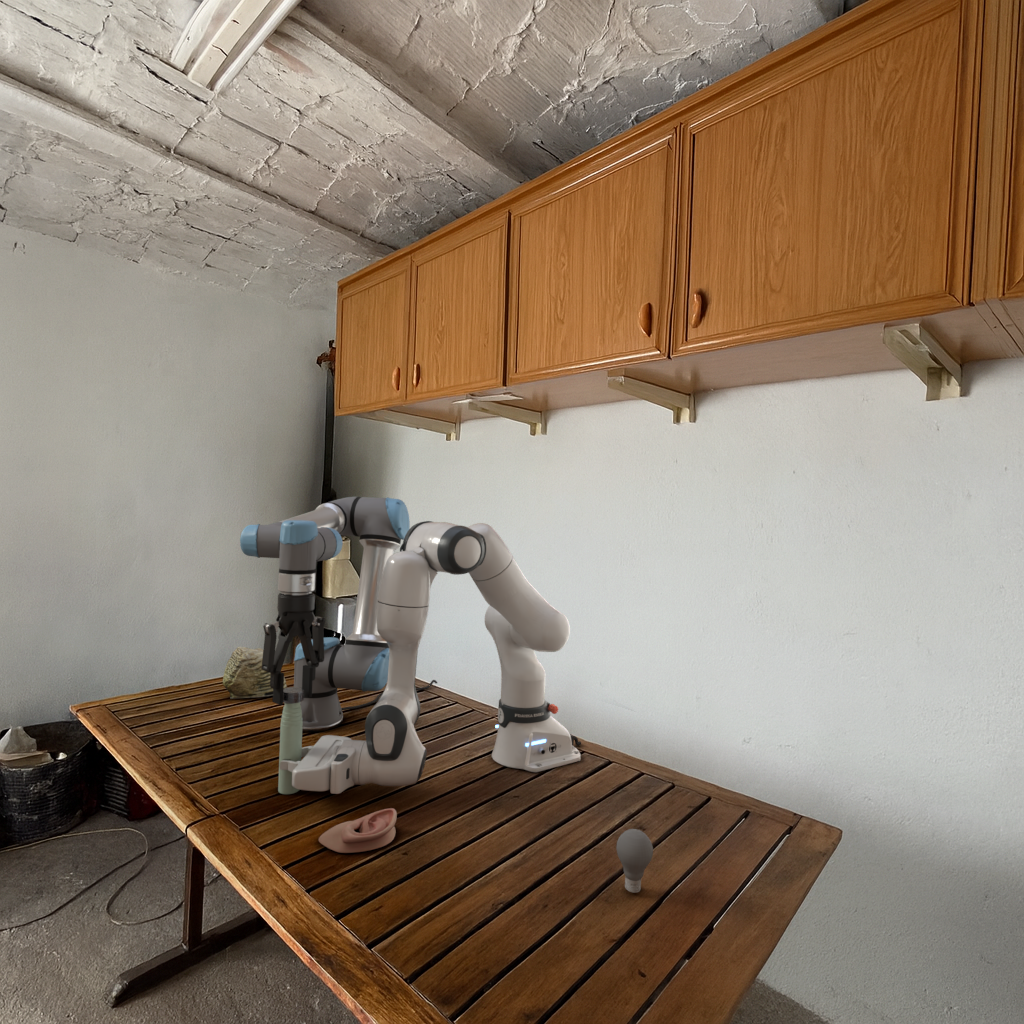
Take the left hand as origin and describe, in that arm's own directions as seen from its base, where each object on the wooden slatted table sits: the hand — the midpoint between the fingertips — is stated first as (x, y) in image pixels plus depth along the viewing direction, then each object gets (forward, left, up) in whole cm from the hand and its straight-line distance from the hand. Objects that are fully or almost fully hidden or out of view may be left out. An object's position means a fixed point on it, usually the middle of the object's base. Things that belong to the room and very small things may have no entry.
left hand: (292, 699), depth 136 cm
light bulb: (-19, +73, -20) cm, 77 cm away
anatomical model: (+2, +26, -20) cm, 33 cm away
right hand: (+1, -1, -13) cm, 13 cm away
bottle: (0, 0, -20) cm, 20 cm away
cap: (0, 0, +2) cm, 2 cm away
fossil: (-28, -64, -20) cm, 72 cm away
